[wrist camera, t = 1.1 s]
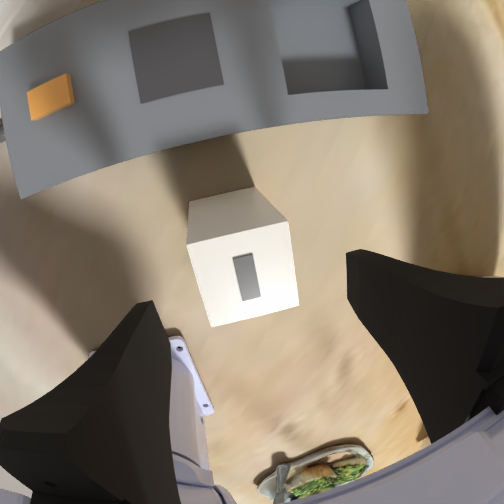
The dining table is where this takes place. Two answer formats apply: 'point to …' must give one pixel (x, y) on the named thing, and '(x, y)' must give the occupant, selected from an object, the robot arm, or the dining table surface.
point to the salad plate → (315, 474)
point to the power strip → (196, 77)
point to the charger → (241, 256)
